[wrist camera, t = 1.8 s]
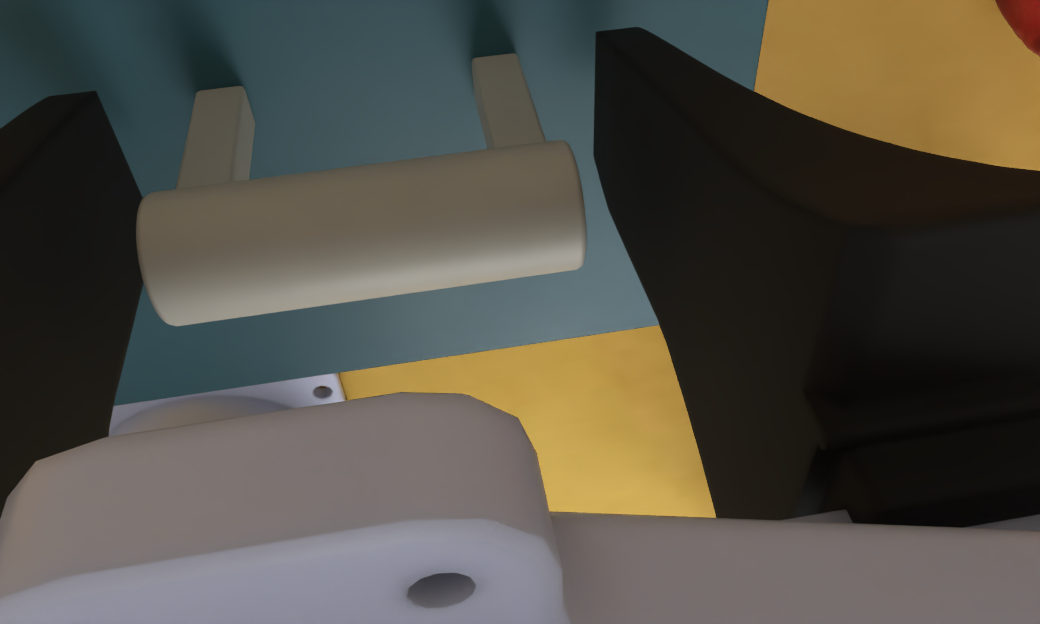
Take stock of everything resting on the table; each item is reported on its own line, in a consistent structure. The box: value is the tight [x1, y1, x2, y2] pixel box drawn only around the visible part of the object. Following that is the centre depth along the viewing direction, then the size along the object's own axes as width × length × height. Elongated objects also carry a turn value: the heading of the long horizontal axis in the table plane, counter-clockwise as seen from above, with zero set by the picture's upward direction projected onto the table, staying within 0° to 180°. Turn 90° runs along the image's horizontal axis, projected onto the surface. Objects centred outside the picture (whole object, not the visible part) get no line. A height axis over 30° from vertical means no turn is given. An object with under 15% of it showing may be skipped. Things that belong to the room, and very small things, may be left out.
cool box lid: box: [0, 0, 768, 406], centre depth 11 cm, size 13×12×5 cm
